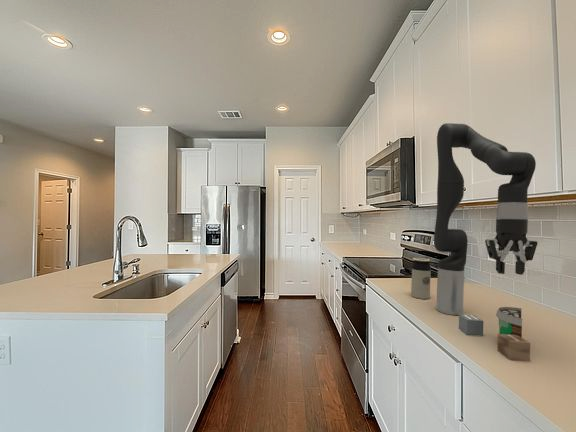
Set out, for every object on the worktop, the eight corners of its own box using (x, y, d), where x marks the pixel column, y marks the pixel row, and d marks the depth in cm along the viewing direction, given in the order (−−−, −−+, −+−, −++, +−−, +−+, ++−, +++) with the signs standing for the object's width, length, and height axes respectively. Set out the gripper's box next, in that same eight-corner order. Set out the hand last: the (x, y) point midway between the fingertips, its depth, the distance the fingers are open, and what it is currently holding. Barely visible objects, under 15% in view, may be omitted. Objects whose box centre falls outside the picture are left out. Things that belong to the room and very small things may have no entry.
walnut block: (497, 351, 80) (497, 333, 80) (515, 352, 79) (516, 334, 79) (509, 360, 75) (510, 341, 75) (529, 361, 74) (530, 342, 74)
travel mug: (408, 294, 135) (409, 257, 135) (425, 294, 135) (426, 257, 135) (415, 299, 127) (416, 260, 127) (433, 299, 127) (434, 260, 127)
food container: (496, 333, 91) (497, 303, 91) (520, 339, 88) (521, 308, 87) (493, 347, 82) (495, 313, 82) (521, 354, 78) (522, 319, 78)
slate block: (458, 329, 95) (458, 314, 95) (473, 329, 95) (474, 314, 94) (466, 335, 90) (467, 319, 90) (482, 336, 90) (483, 320, 90)
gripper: (526, 218, 88) (525, 272, 88) (479, 217, 89) (477, 270, 89) (547, 218, 80) (545, 277, 80) (495, 217, 81) (493, 275, 81)
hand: (509, 273), depth 85 cm, fingers open, 4 cm apart
